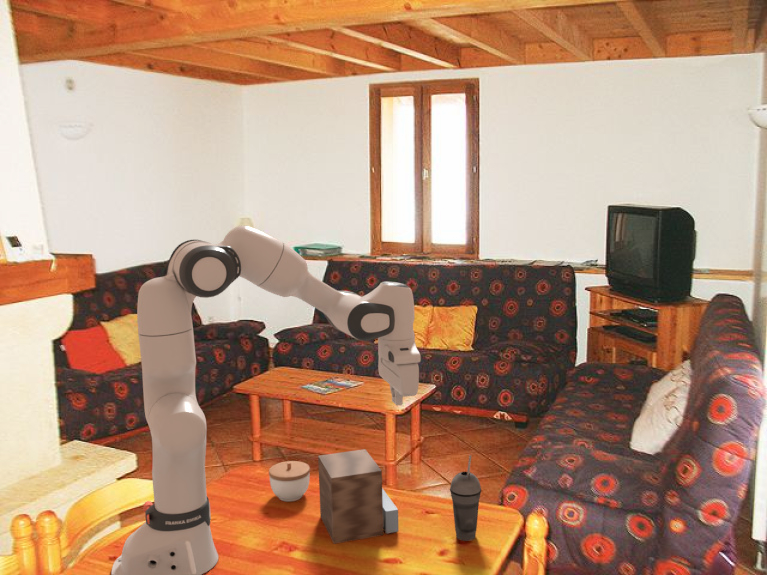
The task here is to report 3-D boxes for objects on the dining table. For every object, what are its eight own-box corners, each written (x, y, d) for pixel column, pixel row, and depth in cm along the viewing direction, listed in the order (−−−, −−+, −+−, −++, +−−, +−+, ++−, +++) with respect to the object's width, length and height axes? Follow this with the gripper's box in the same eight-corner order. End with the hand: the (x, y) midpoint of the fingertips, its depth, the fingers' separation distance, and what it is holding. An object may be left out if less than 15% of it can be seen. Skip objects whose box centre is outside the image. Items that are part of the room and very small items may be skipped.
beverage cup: (456, 526, 176) (456, 446, 173) (485, 532, 173) (485, 451, 170) (445, 540, 170) (444, 458, 166) (475, 546, 166) (475, 463, 163)
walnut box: (333, 543, 169) (331, 478, 166) (320, 516, 182) (318, 455, 180) (383, 534, 173) (381, 470, 170) (366, 509, 186) (365, 449, 183)
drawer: (340, 541, 169) (340, 519, 168) (326, 512, 183) (325, 492, 182) (398, 531, 173) (398, 509, 172) (379, 504, 187) (379, 483, 186)
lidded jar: (299, 508, 187) (297, 473, 186) (262, 502, 191) (260, 468, 189) (317, 490, 197) (316, 457, 196) (282, 485, 201) (280, 453, 199)
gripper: (371, 340, 185) (372, 392, 187) (397, 359, 166) (398, 418, 168) (395, 337, 187) (396, 390, 189) (423, 357, 168) (423, 415, 170)
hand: (397, 403), depth 178 cm, fingers closed
